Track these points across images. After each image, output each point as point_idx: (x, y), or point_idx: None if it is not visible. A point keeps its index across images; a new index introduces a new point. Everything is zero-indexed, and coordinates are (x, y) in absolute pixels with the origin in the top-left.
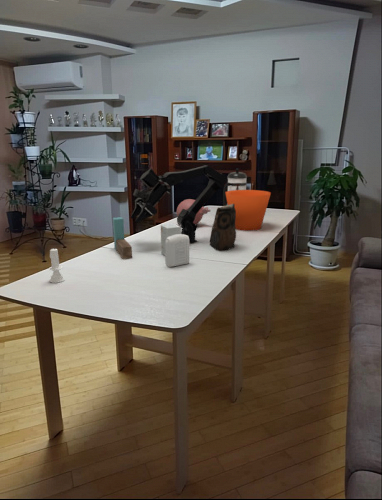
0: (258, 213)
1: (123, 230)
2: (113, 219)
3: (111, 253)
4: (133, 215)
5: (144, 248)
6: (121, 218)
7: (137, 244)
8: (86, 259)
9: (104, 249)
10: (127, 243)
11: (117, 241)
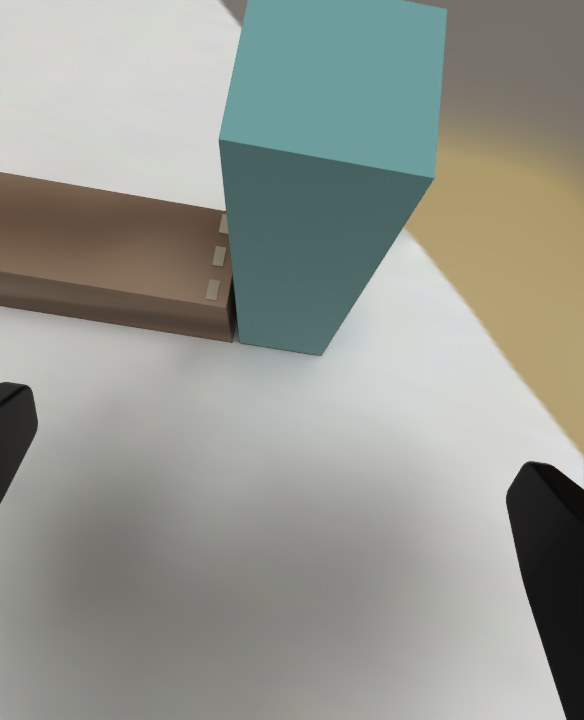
0: None
1: (234, 259)
2: (357, 9)
3: None
4: (558, 550)
5: (167, 526)
6: (292, 125)
7: (351, 521)
8: (139, 16)
9: None
10: (10, 260)
11: (164, 204)
